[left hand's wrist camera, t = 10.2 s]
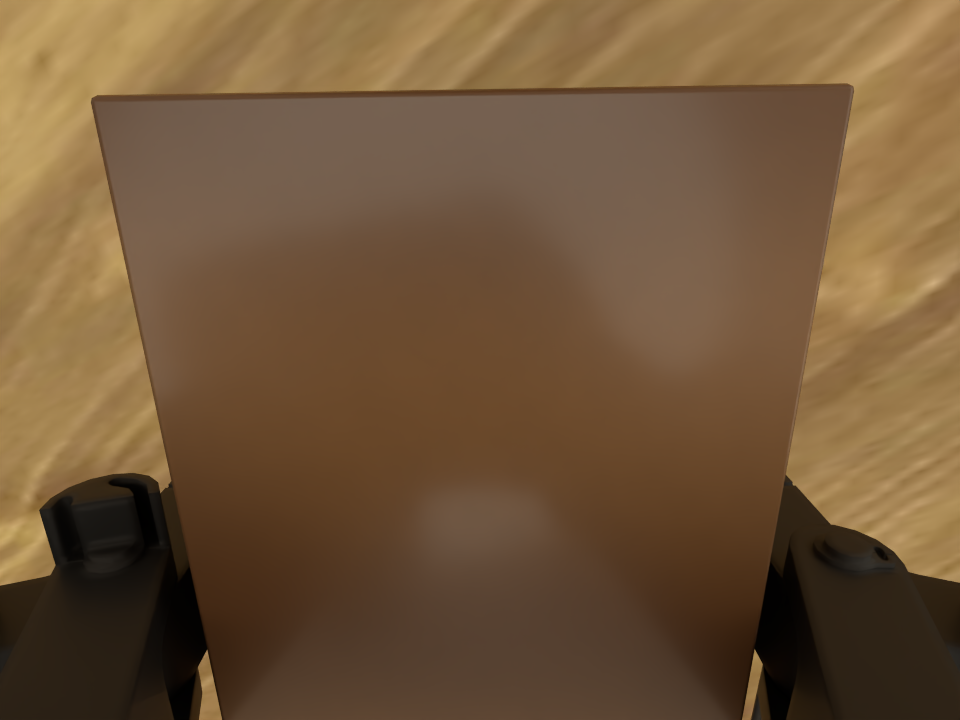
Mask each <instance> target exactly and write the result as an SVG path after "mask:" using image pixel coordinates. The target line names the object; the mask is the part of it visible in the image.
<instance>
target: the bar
mask: <svg viewBox="0 0 960 720" xmlns="http://www.w3.org/2000/svg"><path fill="white" fill-rule="evenodd" d="M853 93H854V88H853V86H851V85H849V84H789V85H725V86H661V87H597V88H533V89H470V90H406V91H342V92H278V93H214V94H151V95H97V96H95V97H93V98H92V100H91V104H92V109H93V114H94V118H95V123H96V128H97V133H98V137H99V142H100V147H101V151H102V156H103V161H104V165H105V170H106V175H107V180H108V184H109V189H110V194H111V198H112V203H113V208H114V212H115V217H116V222H117V227H118V231H119V236H120V241H121V245H122V250H123V255H124V260H125V264H126V269H127V274H128V278H129V283H130V288H131V292H132V297H133V302H134V307H135V311H136V316H137V321H138V325H139V330H140V335H141V339H142V344H143V349H144V354H145V358H146V363H147V368H148V372H149V377H150V382H151V386H152V391H153V396H154V401H155V405H156V410H157V415H158V419H159V424H160V429H161V433H162V438H163V443H164V448H165V452H166V457H167V462H168V466H169V471H170V476H171V480H172V485H173V490H174V495H175V499H176V504H177V509H178V513H179V518H180V523H181V527H182V532H183V537H184V542H185V546H186V551H187V556H188V560H189V565H190V570H191V575H192V579H193V584H194V589H195V593H196V598H197V603H198V607H199V612H200V617H201V622H202V626H203V631H204V636H205V640H206V645H207V650H208V654H209V659H210V664H211V669H212V673H213V678H214V683H215V687H216V692H217V697H218V701H219V706H220V711H221V716H222V720H742V716H743V711H744V705H745V699H746V694H747V688H748V682H749V677H750V671H751V666H752V660H753V654H754V649H755V643H756V638H757V632H758V626H759V621H760V615H761V610H762V604H763V598H764V593H765V587H766V581H767V576H768V570H769V565H770V559H771V553H772V548H773V542H774V537H775V531H776V525H777V520H778V514H779V509H780V503H781V497H782V492H783V486H784V480H785V475H786V469H787V464H788V458H789V452H790V447H791V441H792V436H793V430H794V424H795V419H796V413H797V407H798V402H799V396H800V391H801V385H802V379H803V374H804V368H805V363H806V357H807V351H808V346H809V340H810V335H811V329H812V323H813V318H814V312H815V306H816V301H817V295H818V290H819V284H820V278H821V273H822V267H823V262H824V256H825V250H826V245H827V239H828V234H829V228H830V222H831V217H832V211H833V205H834V200H835V194H836V189H837V183H838V177H839V172H840V166H841V161H842V155H843V149H844V144H845V138H846V132H847V127H848V121H849V116H850V110H851V104H852V99H853Z"/></svg>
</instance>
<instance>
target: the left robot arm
mask: <svg viewBox="0 0 960 720" xmlns="http://www.w3.org/2000/svg"><path fill="white" fill-rule="evenodd" d="M39 511H40V514H41V518H42V521H43V524H44V528H45V531H46V534H47V538H48V541H49V544H50V548H51V551H52V554H53V558H54V561H55V564H56V566H55V568H54V570H53V572H52V574H51V575H50V576H46V577H42V578H37V579H32V580H27V581H22V582H17V583H12V584H7V585H2V586H0V720H199V714H200V707H201V699H202V687H201V680H200V676H199V671H198V666H199V664H200V662H201V660H202V658H203V656H204V654H205V653H206V651H207V645H206V640H205V636H204V631H203V626H202V622H201V617H200V612H199V607H198V603H197V598H196V593H195V589H194V584H193V579H192V575H191V570H190V565H189V560H188V556H187V551H186V546H185V542H184V537H183V532H182V527H181V523H180V518H179V513H178V509H177V504H176V499H175V495H174V490H173V485H172V481H171V482H170V483H169V487H168V488H165V489H164V490H163V491H162V492H161V494H160V490H159V485H158V482H157V481H155V480H154V479H153V478H151V477H150V476H147V475H141V474H136V473H126V474H112V475H108V476H103V477H99V478H94V479H90V480H87V481H85V482H82V483H80V484H77V485H74V486H72V487H69V488H67V489H66V490H64V491H62V492H61V493H59V494H57V495H55V496H54V497H52V498H51V499H50V500H49V501H48V502H47V503H46V504H45V505H44V506H43V507H42V508H41V509H40V510H39ZM755 650H756V652H757V654H758V656H759V658H760V660H761V661H762V663H763V666H762V671H761V676H760V680H759V685H758V690H757V694H756V699H755V703H754V708H753V713H752V717H751V720H960V583H957V582H952V581H947V580H942V579H937V578H932V577H927V576H922V575H918V574H914V573H910V572H908V571H907V569H906V567H905V565H904V564H903V562H902V561H901V560H900V559H899V558H898V556H897V555H896V554H895V553H894V552H893V551H892V550H891V549H889V548H888V547H886V546H885V545H883V544H882V543H880V542H879V541H878V540H876V539H874V538H871V537H869V536H867V535H865V534H862V533H860V532H858V531H856V530H852V529H848V528H844V527H840V526H836V525H831V524H830V523H829V522H828V521H827V520H826V519H825V518H824V517H823V516H822V514H821V513H820V512H819V511H818V510H817V509H816V508H815V507H814V506H813V504H812V503H811V502H810V501H809V500H808V499H807V498H806V497H805V496H804V494H803V493H802V492H801V491H800V490H799V489H798V488H797V487H796V486H793V484H792V481H791V480H790V479H789V478H788V477H787V476H786V475H785V480H784V486H783V492H782V497H781V503H780V509H779V514H778V520H777V525H776V531H775V537H774V542H773V548H772V553H771V559H770V565H769V570H768V576H767V581H766V587H765V593H764V598H763V604H762V610H761V615H760V621H759V626H758V632H757V638H756V643H755Z"/></svg>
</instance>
